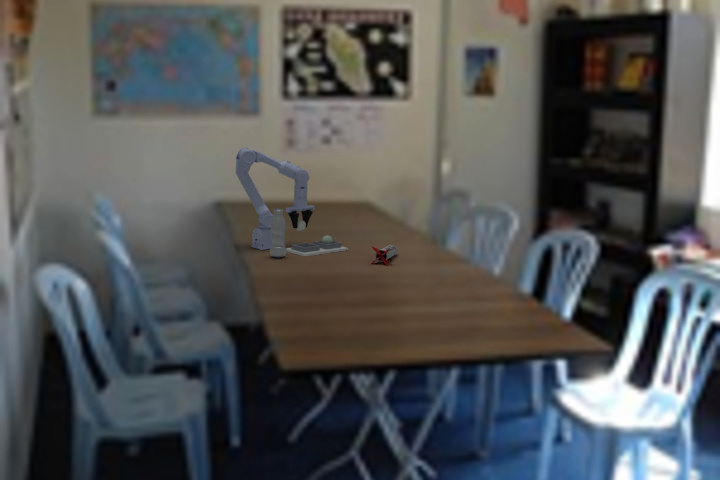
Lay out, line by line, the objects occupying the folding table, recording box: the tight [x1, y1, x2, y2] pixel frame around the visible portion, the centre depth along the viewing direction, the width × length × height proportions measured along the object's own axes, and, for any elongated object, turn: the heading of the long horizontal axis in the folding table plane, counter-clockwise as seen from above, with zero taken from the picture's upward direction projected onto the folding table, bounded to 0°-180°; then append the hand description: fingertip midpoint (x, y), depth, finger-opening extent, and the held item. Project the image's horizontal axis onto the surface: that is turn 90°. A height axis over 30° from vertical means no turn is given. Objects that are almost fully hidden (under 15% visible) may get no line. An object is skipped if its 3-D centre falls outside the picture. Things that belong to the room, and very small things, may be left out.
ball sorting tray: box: [286, 240, 349, 258], centre depth 369 cm, size 24×14×3 cm, turn 132°
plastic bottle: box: [269, 208, 287, 259], centre depth 352 cm, size 6×7×20 cm
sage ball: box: [321, 235, 334, 244], centre depth 373 cm, size 5×5×5 cm
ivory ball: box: [295, 218, 307, 232], centre depth 375 cm, size 5×5×5 cm
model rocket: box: [370, 244, 398, 267], centre depth 356 cm, size 11×23×10 cm
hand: (300, 227), depth 375 cm, fingers closed on ivory ball, 5 cm apart
